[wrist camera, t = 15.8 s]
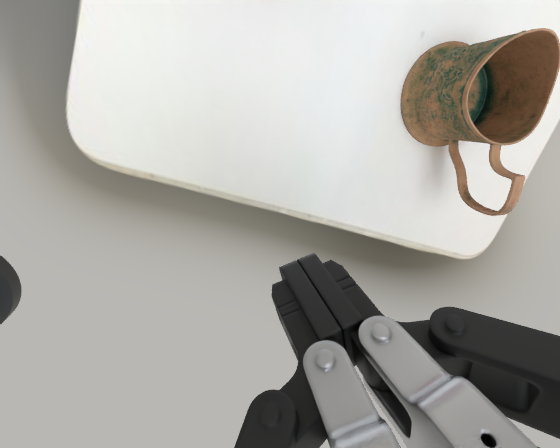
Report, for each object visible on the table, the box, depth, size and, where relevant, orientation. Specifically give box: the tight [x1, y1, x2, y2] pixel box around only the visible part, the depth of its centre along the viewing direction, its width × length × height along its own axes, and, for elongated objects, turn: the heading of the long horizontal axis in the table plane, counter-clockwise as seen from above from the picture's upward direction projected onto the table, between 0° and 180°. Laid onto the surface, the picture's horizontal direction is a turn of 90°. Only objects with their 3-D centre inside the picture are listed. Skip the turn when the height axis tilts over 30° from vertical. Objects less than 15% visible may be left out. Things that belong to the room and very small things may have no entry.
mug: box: [401, 28, 560, 216], centre depth 33 cm, size 12×18×12 cm, turn 0°
